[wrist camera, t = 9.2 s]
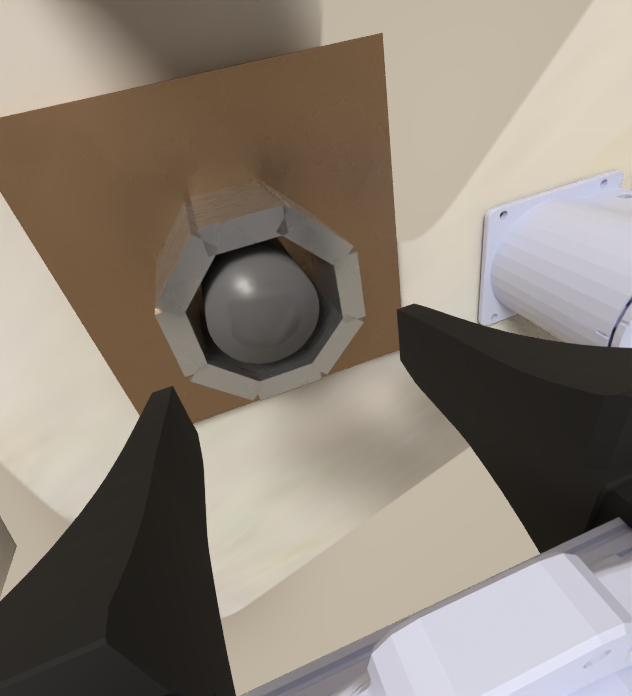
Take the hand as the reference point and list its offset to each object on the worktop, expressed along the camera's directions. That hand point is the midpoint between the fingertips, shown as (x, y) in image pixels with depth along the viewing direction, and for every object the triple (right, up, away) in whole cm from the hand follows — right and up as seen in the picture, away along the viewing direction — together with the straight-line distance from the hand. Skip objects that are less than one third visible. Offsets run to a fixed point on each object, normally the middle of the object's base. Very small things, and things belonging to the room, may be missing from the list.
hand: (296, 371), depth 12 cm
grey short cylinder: (-3, +4, +7) cm, 9 cm away
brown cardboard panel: (-3, +5, +8) cm, 10 cm away
